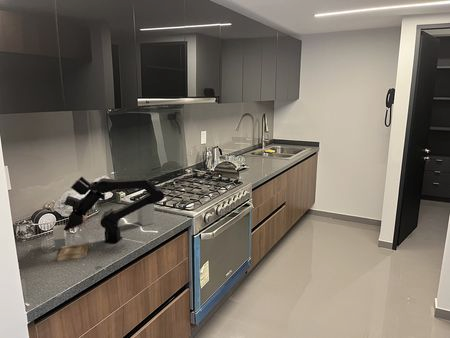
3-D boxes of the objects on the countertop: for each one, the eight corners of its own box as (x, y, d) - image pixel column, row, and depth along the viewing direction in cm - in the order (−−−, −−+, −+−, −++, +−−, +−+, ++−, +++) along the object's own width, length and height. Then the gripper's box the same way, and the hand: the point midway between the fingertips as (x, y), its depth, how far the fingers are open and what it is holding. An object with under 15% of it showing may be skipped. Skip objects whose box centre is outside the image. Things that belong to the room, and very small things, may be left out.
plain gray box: (67, 244, 160) (65, 224, 158) (65, 248, 156) (63, 228, 154) (57, 245, 159) (54, 225, 157) (55, 249, 155) (52, 229, 153)
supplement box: (155, 223, 185) (154, 201, 183) (142, 226, 181) (140, 203, 179) (150, 219, 191) (148, 197, 189) (137, 222, 187) (136, 200, 185)
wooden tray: (88, 246, 158) (87, 242, 157) (85, 257, 147) (85, 252, 147) (62, 249, 155) (61, 245, 154) (57, 260, 144) (57, 256, 144)
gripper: (77, 185, 163) (54, 209, 162) (71, 196, 145) (46, 223, 145) (96, 199, 167) (74, 223, 166) (92, 211, 149) (68, 238, 149)
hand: (65, 226), depth 156 cm, fingers open, 9 cm apart
